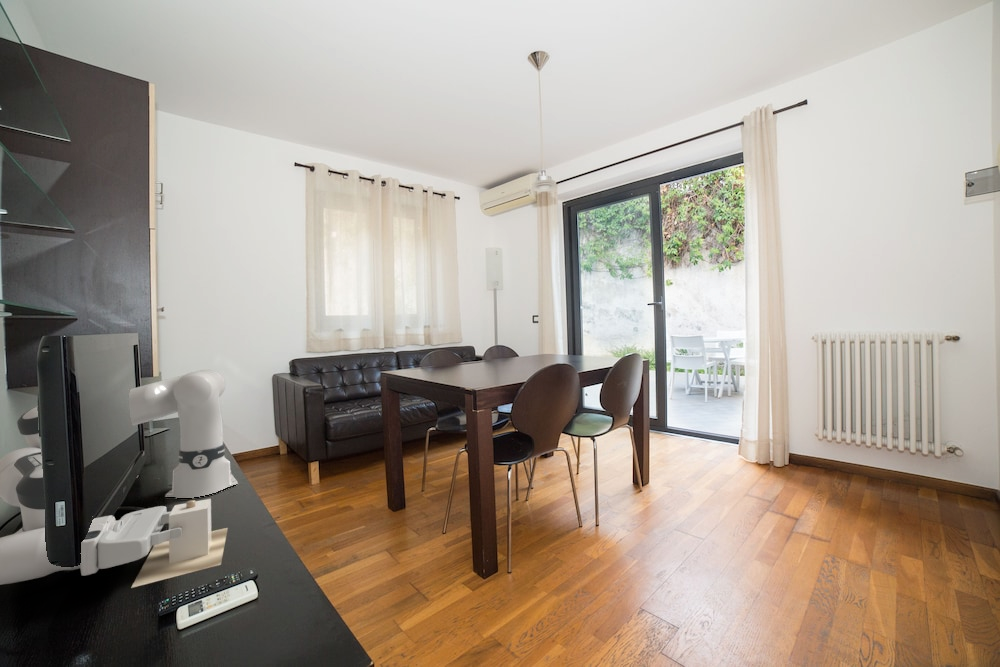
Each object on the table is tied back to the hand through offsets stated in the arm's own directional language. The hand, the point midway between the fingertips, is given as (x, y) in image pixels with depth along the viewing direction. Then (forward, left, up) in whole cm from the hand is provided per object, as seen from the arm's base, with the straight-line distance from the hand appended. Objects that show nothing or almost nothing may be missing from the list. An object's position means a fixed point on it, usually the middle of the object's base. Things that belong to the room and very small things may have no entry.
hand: (185, 522), depth 87 cm
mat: (0, 0, -7) cm, 8 cm away
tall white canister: (0, +1, -7) cm, 7 cm away
